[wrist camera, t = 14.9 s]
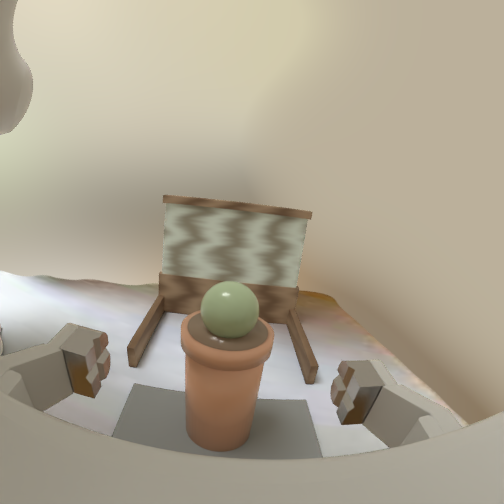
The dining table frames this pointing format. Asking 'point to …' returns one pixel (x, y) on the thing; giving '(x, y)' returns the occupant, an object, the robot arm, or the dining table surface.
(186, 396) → the seedling pot
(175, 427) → the potting mat
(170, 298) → the brown wooden frame
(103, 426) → the dining table surface
